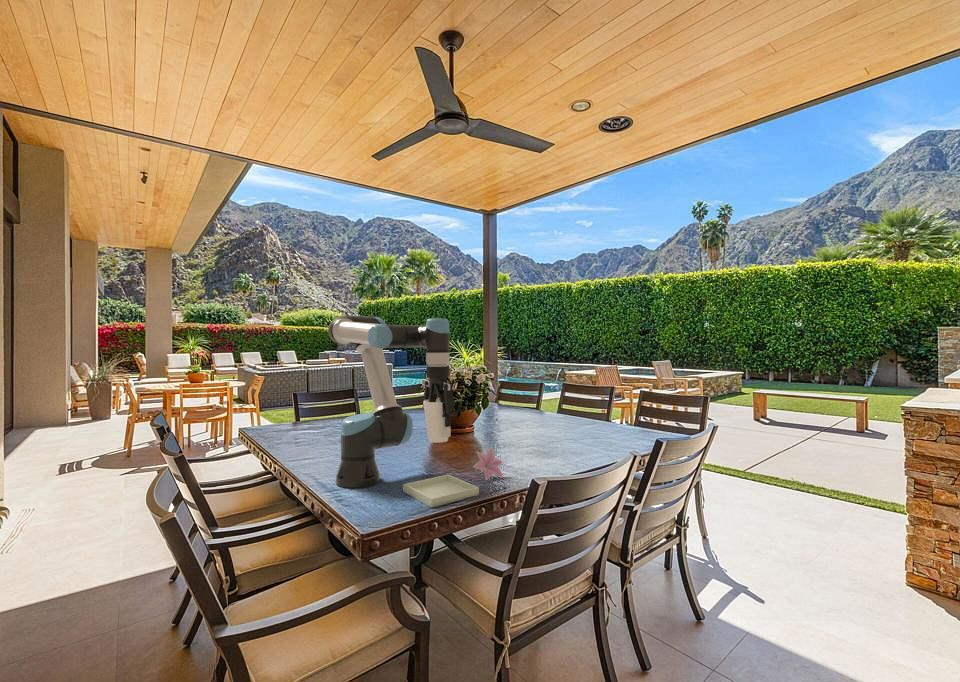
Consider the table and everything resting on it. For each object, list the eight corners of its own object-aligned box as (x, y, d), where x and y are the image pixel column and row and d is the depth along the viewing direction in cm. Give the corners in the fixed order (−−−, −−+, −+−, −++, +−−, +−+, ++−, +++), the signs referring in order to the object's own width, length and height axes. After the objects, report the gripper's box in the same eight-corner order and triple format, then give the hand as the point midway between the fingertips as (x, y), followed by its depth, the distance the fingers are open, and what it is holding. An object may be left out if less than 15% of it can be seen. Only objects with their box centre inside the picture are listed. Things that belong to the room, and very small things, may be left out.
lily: (467, 483, 166) (476, 462, 162) (468, 462, 176) (476, 442, 173) (499, 491, 167) (508, 471, 164) (497, 470, 178) (506, 451, 175)
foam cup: (450, 443, 145) (450, 402, 145) (421, 443, 146) (421, 402, 146) (453, 437, 155) (453, 398, 155) (426, 437, 155) (426, 398, 155)
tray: (431, 507, 139) (431, 499, 139) (403, 491, 153) (403, 484, 153) (478, 495, 150) (478, 487, 150) (448, 481, 164) (448, 474, 164)
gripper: (466, 366, 144) (466, 438, 144) (431, 363, 161) (431, 427, 161) (445, 367, 139) (446, 441, 139) (412, 364, 157) (412, 430, 157)
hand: (438, 434), depth 150 cm, fingers closed on foam cup, 9 cm apart
